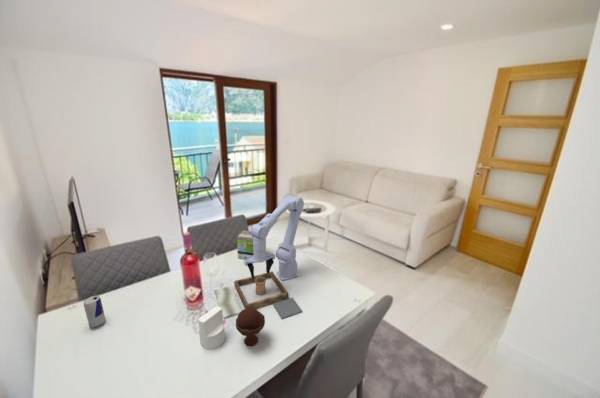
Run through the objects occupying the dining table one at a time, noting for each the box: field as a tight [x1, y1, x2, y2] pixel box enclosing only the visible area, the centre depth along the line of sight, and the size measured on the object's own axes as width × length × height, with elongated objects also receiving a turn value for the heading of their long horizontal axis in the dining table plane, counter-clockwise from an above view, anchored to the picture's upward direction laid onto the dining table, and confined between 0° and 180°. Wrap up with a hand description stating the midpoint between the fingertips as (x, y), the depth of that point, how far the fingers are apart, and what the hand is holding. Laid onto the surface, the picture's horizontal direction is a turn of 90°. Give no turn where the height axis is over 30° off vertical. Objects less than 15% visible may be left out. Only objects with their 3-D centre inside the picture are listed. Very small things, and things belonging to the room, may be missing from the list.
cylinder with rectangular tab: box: [197, 305, 226, 350], centre depth 99 cm, size 9×9×12 cm
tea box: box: [236, 230, 254, 260], centre depth 159 cm, size 15×10×15 cm, turn 81°
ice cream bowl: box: [235, 308, 266, 348], centre depth 99 cm, size 11×11×15 cm
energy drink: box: [83, 295, 107, 330], centre depth 105 cm, size 5×5×12 cm
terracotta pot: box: [254, 277, 267, 296], centre depth 128 cm, size 5×5×7 cm
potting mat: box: [272, 297, 303, 320], centre depth 118 cm, size 10×10×1 cm
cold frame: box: [214, 270, 289, 320], centre depth 126 cm, size 30×20×3 cm
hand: (260, 274), depth 126 cm, fingers open, 7 cm apart
